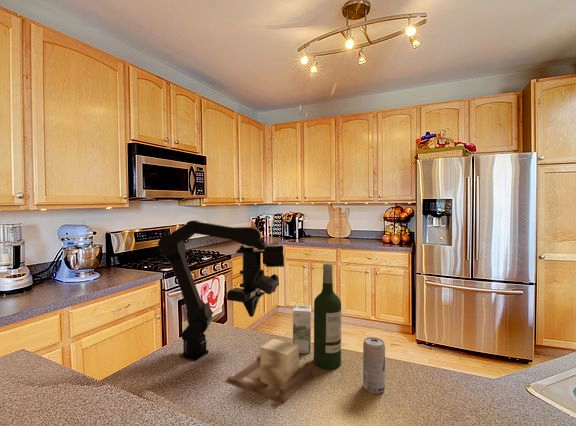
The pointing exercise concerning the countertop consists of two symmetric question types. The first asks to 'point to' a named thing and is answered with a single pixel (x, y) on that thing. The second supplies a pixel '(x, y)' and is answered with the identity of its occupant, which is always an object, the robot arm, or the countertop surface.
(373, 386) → the energy drink
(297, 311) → the syrup box
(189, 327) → the robot arm
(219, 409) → the countertop surface
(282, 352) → the maple block
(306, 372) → the tray
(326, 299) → the wine bottle
